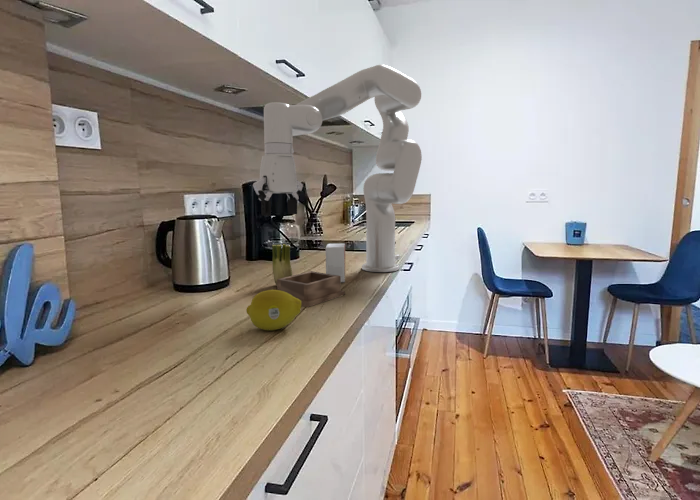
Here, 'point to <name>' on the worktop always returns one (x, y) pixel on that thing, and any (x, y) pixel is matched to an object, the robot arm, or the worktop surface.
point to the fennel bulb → (281, 261)
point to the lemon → (273, 309)
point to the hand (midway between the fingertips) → (279, 214)
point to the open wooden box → (312, 287)
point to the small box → (335, 260)
